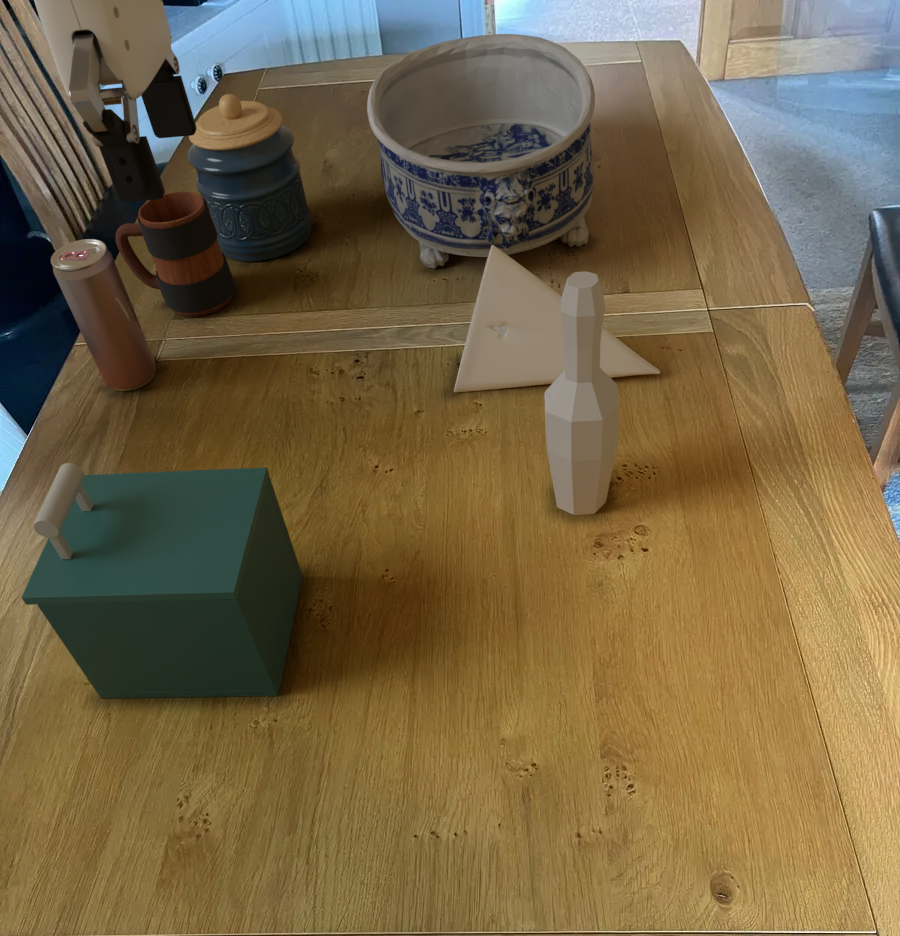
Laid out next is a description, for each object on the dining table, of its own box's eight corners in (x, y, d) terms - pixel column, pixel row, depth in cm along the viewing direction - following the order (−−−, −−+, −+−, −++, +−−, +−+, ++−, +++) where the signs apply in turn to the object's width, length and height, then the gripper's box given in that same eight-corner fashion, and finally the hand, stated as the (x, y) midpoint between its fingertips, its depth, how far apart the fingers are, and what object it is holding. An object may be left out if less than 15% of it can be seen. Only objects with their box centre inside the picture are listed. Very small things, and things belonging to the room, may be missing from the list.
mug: (148, 285, 117) (113, 194, 108) (242, 277, 116) (214, 185, 107) (133, 324, 112) (95, 232, 103) (231, 316, 111) (201, 222, 102)
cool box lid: (25, 604, 67) (-7, 557, 63) (80, 482, 75) (54, 433, 71) (237, 599, 65) (216, 550, 61) (269, 474, 73) (252, 424, 70)
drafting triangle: (679, 287, 96) (493, 235, 94) (688, 300, 90) (491, 245, 89) (629, 423, 103) (456, 376, 102) (635, 442, 98) (453, 393, 97)
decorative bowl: (634, 277, 108) (641, 145, 96) (407, 318, 107) (387, 190, 95) (550, 125, 135) (548, 8, 124) (369, 156, 134) (350, 42, 123)
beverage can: (113, 362, 107) (58, 240, 96) (163, 359, 106) (114, 235, 95) (99, 395, 103) (40, 271, 92) (151, 392, 103) (98, 267, 91)
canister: (288, 268, 117) (251, 122, 103) (198, 259, 120) (151, 117, 107) (329, 215, 124) (300, 73, 111) (243, 209, 128) (205, 70, 114)
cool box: (100, 698, 76) (36, 605, 67) (142, 580, 84) (90, 482, 75) (278, 696, 74) (237, 600, 65) (302, 575, 82) (269, 475, 73)
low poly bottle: (606, 528, 82) (614, 308, 66) (537, 515, 84) (528, 298, 68) (623, 480, 86) (635, 261, 69) (556, 469, 88) (553, 252, 71)
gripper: (48, -156, 60) (142, 118, 73) (-57, -76, 49) (74, 230, 62) (160, -170, 60) (234, 109, 73) (78, -91, 48) (183, 222, 61)
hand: (160, 165), depth 67 cm, fingers open, 9 cm apart
